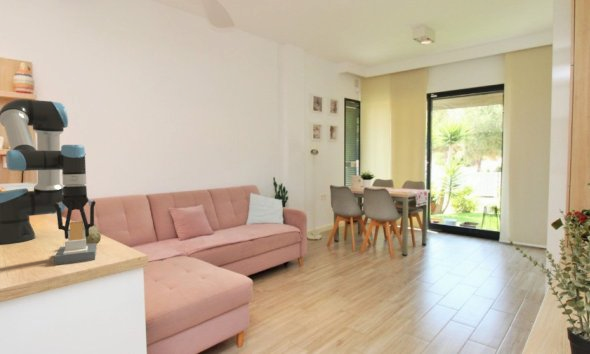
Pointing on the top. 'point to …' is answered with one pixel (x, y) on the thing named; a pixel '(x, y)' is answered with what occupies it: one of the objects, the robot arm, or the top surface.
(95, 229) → the coral
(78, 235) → the tall wooden block
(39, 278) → the top surface
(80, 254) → the socket board
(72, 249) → the white stepped block
